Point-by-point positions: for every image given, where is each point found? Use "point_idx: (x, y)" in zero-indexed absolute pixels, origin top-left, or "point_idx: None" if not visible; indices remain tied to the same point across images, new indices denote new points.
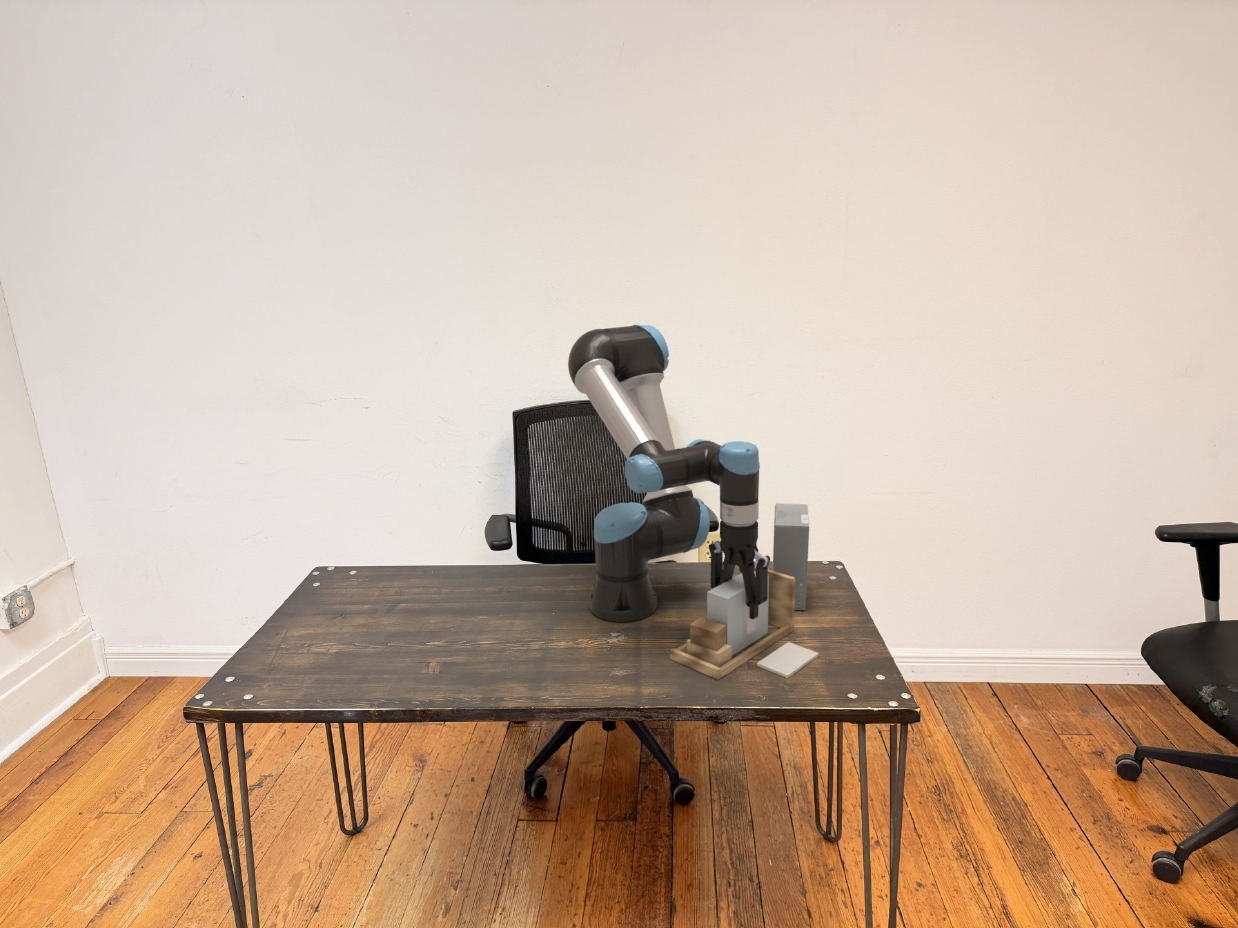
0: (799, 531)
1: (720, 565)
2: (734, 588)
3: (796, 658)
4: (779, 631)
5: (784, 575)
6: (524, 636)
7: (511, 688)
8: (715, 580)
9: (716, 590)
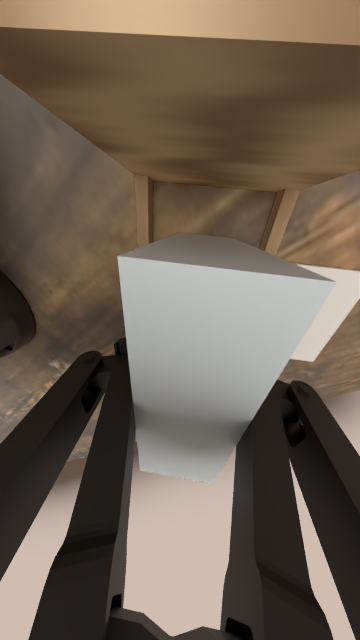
0: None
1: (35, 473)
2: (196, 448)
3: (323, 314)
4: (273, 248)
5: None
6: (12, 398)
7: (89, 440)
8: (92, 413)
9: (155, 463)
